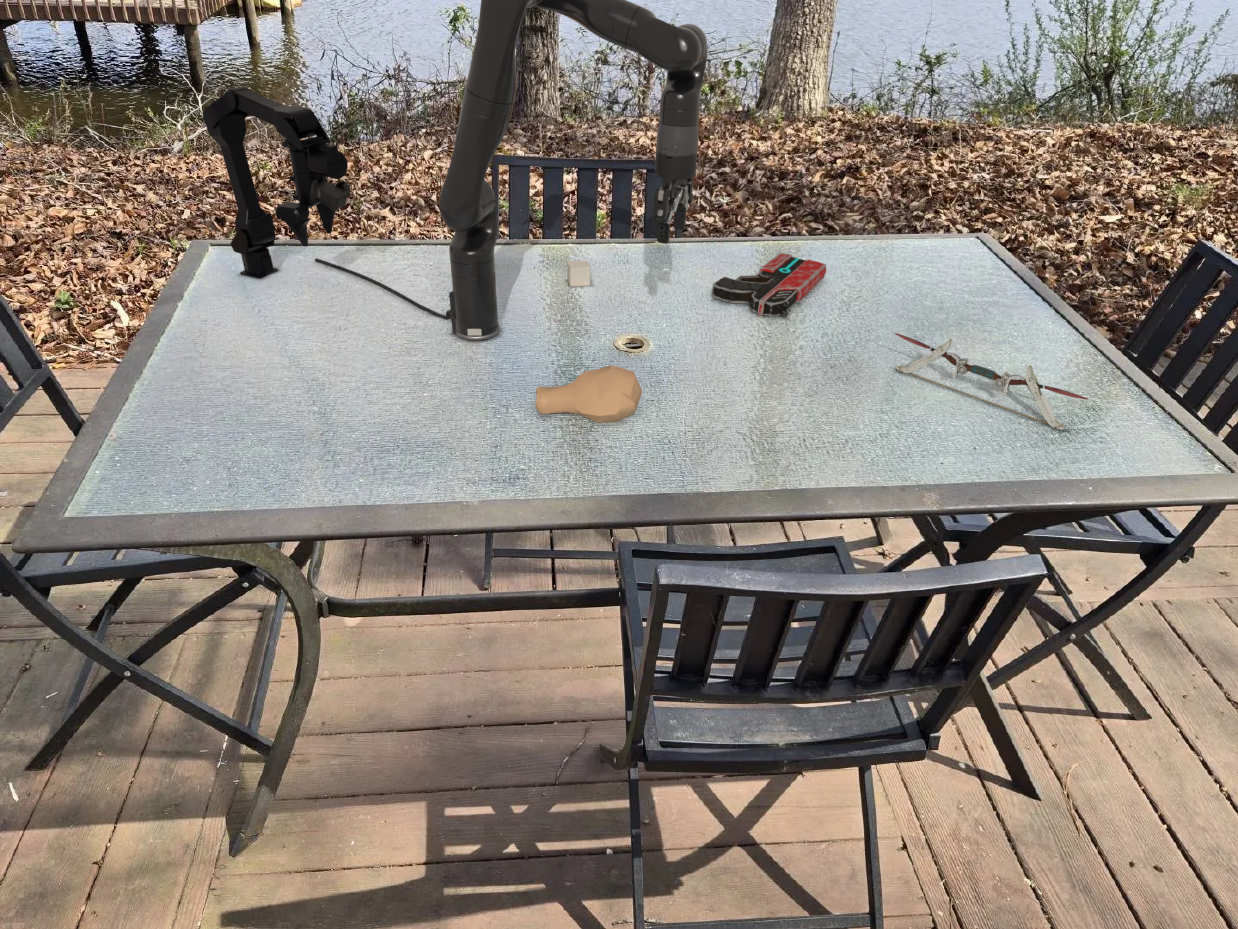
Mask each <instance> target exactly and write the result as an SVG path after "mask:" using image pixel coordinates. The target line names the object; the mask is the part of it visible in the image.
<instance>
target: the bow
mask: <svg viewBox="0 0 1238 929" xmlns="http://www.w3.org/2000/svg"><path fill="white" fill-rule="evenodd" d="M894 335H895V336H897V337H899V338H901V339H903V340H904V341H906V342H908V343H911V344H914V345H916V346H919V347H921V348H924V349H927V350H930V351H931V353H930V354H928V355H925V356H921V357H920V358H918V359H916V360H915V361H913V362H912V363H911V364H910V365H898V366H896V370H897V371H898V372H900V373H902V374H909V375H912V376H915V377H918V378H921V379H923V380H926V381H928V382H931V383H934V384H936V385H940V386H942V387H945V388H948V389H950V390H953V391H956V392H959V393H962V394H964V395H967V396H970V397H972V398H976V399H977V400H980V401H984V402H986V403H989V404H992V405H995V406H998V407H1000V408H1003V409H1005V410H1009V411H1011V412H1014V413H1016V414H1019V415H1022V416H1025V417H1027V418H1030V419H1033V420H1036V421H1039V422H1041V423H1044V424H1046V425H1049V426H1050V427H1052V428H1053V429H1056V430H1061V431H1062V430H1065V428H1066V427H1067V425H1065V424H1064V423H1062V422H1061V421H1060V420H1058V419H1056V418H1055V414H1054V412H1053V409H1052V406H1051V405H1050V403H1049V402H1048V400H1047V398H1046V396H1045V395H1044V394H1043V393H1042V390H1041V389H1043V388H1044V389H1045V390H1047V391H1050V392H1053V393H1056V394H1058V395H1063V396H1065V397H1070V398H1074V399H1081V400H1089V399H1090V398H1088V397H1085V396H1083V395H1080V394H1077V393H1074V392H1071V391H1068V390H1065V389H1062V388H1057V387H1053V386H1049V385H1044V384H1040V383H1039V379H1038V378H1037V376H1036V374H1035V373H1034V369H1033V366H1032V365H1031V364H1030V365H1028V366H1027V367H1026V371H1025V375H1024V376H1022V375H1020V374H1011V373H1009V372H1008V371H1005V372H1004V373H1003V374H1001V375H1000V374H998V373H997V372H996V371H995V370H993V369H989V368H987V367H984V366H981V365H978V364H972V365H971V364H969V358H968V357H967V358H961V356H959V355H958V354H957V353H955V352H952V351H950V352H949V350H950V348H951V345H952V342H953V339H952V338H949V339H948V340H947V341H946V342H945V343H944V344H941V345H939V346H937V347H936V348H934V347H931V346H930V345H928V344H926V343H924V342H922V341H919V340H917V339H914V338H911V337H909V336H906V335H902V334H900V333H897V332H894ZM942 358H944V359H945V360H947V362H949V363H950V364H951V365H953V366H955V367H954V370H953V372H952V374H951V377H952V378H954V379H956V378H957V377H959V376H958V375H959V374H960V375H962V376H965V375H966V374H967V373H968V372H969V373H971V374H974V375H977V376H980V377H983V378H986V379H989V380H992V381H995V382H994V385H995V386H996V387H997V388H998V389H999V388H1000V389H1003V390H1002V394H1001V395H1002V396H1005V397H1007V396H1008V395H1009V394H1010V390H1011V389H1010V386H1026V388H1027V389H1028V391H1029V392H1030V394H1031V396H1032V397H1033V399H1034V401H1035V404H1036V406H1037V408H1038V410H1039V411H1040V414H1041V415H1042V417H1043V418H1044V420H1045V421H1043V420H1041V419H1038V418H1036V417H1033V416H1030V415H1027V414H1025V413H1022V412H1020V411H1017V410H1014V409H1012V408H1011V409H1010V408H1008V407H1005V406H1002V405H1000V404H997V403H994V402H992V401H989V400H986V399H983V398H981V397H978V396H975V395H972V394H971V393H967V392H964V391H961V390H958V389H956V388H953V387H950V386H948V385H945V384H942V383H940V382H937V381H934V380H931V379H929V378H925V377H922V376H920V375H918V374H915V373H913V372H915V371H919V370H921V369H922V368H924V367H925V366H927V365H929V364H930V363H933V362H935V361H937V360H940V359H942ZM1024 377H1025V378H1024Z"/></svg>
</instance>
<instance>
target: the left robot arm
mask: <svg viewBox="0 0 1238 929" xmlns="http://www.w3.org/2000/svg"><path fill="white" fill-rule="evenodd" d="M249 116H252V117H254V118H256V119H259V120H261V121H263V122H265V123H268V124H270V125H272V126H273V127H274V128H275V131H276V132H277V134H279V135H280V136H282V137H283V138H285V139H284V140H283V141H282V143H281V147H282V148H286V149H288V151H289V152H288V153H289V158H290V163H291V169H292V175H289V176H288V178H289V182H293V183H294V188H295V193H294V194H292V199H293V201H294V202H293V201H286V202H283V203H281V204H279V205H277V206H276V208H274V213H275V217H276V220H279V221H280V222H284V223H285V224H286V225H287V227H288V228H289V229H290V230H291V232H292V233H293V234H294V235H295V237H296V238H297V240H298V241H299V242H300V244H301V245H302V246H303V247H306V248H307V247H309V235H308V223H310V221H311V220H312V219H311V217H310V209H311V208H313V207H316V210H317V212H318V215H319V218H320V221H321V224H322V226H323V229H324V230H325V232H326V234H329V235H330V234H332V231H333V227H334V219H335V215H336V211H339V210H340V209H341V208H344V207H346V204H347V199H348V198H350V197H351V193H350V186H349V183H348V182H347V181H345V180H344V179H343V180H341V179H342V178H344V177H345V175H346V174H347V172H348V166H349V165H348V159H347V157H346V156H345V154H344V153H342V152H341V151H339V148H338V147H339V146H338V145H337V144H330V143H331V139H330V138H329V136H328V132H327V131H326V130H325V128H324V127H323V126H322V124H321V121H320V120H319V119H318V117H317V115H316V114H315V112H314V111H313V110H312V109H311V108H309V107H305V106H300V105H284V104H282V103H280V102H277V101H275V100H273V99H270V98H269V97H266V96H263V95H261V94H259V93H256V92H254V91H252V90H251V89H250V88H249V87H246V86H239V87H233V88H229V89H227V90H226V91H225V92H224V93H223V94H222V95H221V96H220V97H219V98H217V99H216V100H214V101H213V102H211V103H210V104H209V105H207V106H205V107H204V111H202V121H203V123H204V125H205V127H206V129H207V132H208V135H209V136H210V137H211V138H212V139H213V141H215V143H216V144H217V145H218V146H219V147H220V150H221V155H222V158H223V161H224V164H225V168H226V171H227V175H228V178H229V183H230V185H231V190H232V193H233V197H234V200H235V203H236V207H237V212H236V216H235V220H234V227H235V232H236V233H235V235H234V236H233V238H232V239H231V241H230V246H231V248H232V251H233V252H234V253H237V254H240V255H241V259H242V264H243V268H244V270H242V271H240V272H239V273H240V275H241V276H246V277H250V278H254V279H258V280H259V279H260V280H261V279H263V278H265V277H267V276H270V275H272V274H273V273H276V272H278V271H279V269H278V268H277V267H274V264H273V259H272V255H271V253H270V249H269V248H270V247H275V241H276V230H277V228H276V226H275V224H274V220H273V216H272V214H271V213H269V212H266V211H265V210H264V209H263V207H261V205H260V201H259V198H258V194H257V190H256V186H255V182H254V178H253V175H252V172H251V168H250V164H249V160H248V157H247V154H246V149H245V146H244V142H245V137H246V134H247V131H248V130H247V124H246V119H247V118H248V117H249ZM327 178H330V179H334V180H340V181H338V182H337V183H336V182H332V183H330V182H328V179H327ZM295 201H298V202H295Z"/></svg>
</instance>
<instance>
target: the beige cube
mask: <svg viewBox="0 0 1238 929" xmlns="http://www.w3.org/2000/svg"><path fill="white" fill-rule="evenodd" d="M566 263H567V282H568V284H569V287H586V286H588V287H589V286H591V265H590V264H589V261H588V260H571V261H569V260H568V261H567V262H566Z"/></svg>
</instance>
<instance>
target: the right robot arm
mask: <svg viewBox="0 0 1238 929" xmlns="http://www.w3.org/2000/svg"><path fill="white" fill-rule="evenodd" d="M529 8H537V9H542V10H546V11H549V12H553V13H557V14H559V15H562V16H565V17H567V18H569V19H571V20H572V21H574V22H576V23H577V24H579V25H580V26H581V27H583V28H584V29H586V30H587V31H588V32H590V33H591V34H593V35H595V36H597V37H598V38H600V39H602V40H604V41H606V42H608V43H611V44H613V45H615V46H618V47H620V48H623V49H624V50H628V51H630V52H632V53H635V54H638V55H639V56H641V57H642V58H644V59H645V60H647V61H648V62H650V63H652V64H653V65H655V66H657V67H659V68H660V69H663V70H664V71H666V82H665V84H664V87H663V89H662V91H661V94H660V100H659V116H658V127H657V132H656V144H655V148H656V149H655V163H654V164H655V165H654V173H655V175H657V176H658V177H660V178H661V179H662V184H661V187H660V188H655V190H654V197H653V210H652V222H653V223H657V229H656V230H657V233H656V242H657V243H660V244H665V245H667V244H668V243H669V242H670V233H671V221H672V218H673V222H672V224H673V225H672V227H673V229H674V230H678V231H684V230H685V229H686V220H687V211H688V210H689V205H691V204H692V202H693V186H694V177H695V176H696V173H697V164H698V151H699V138H700V137H699V136H700V134H699V122H700V120H699V119H700V108H701V91H702V87H703V82H704V78H705V72H706V66H707V60H708V53H709V52H708V48H709V47H708V39H707V36H706V34H705V32H704V31H703V30H702V29H701V27H699V26H698V25H696V24H693V23H684V24H681V25H678V26H677V25H674V24H671V23H668V22H667V21H664V20H662V19H660V18H658V17H657V16H656V14H655V13H654V12H653V11H652V10H649V9H648V8H646V7H644V6H642V5H639V4H636V3H634V2H632V1H629V0H480V7H479V17H478V26H477V33H476V37H475V41H474V45H473V49H472V53H471V54H472V55H471V60H470V65H469V70H468V74H467V78H466V81H465V87H464V91H463V97H462V102H461V106H460V107H461V108H460V114H459V120H458V124H457V129H456V134H455V140H454V145H453V150H452V156H451V159H450V163H449V167H448V168H447V173H446V175H445V179H444V181H443V185H442V187H441V191H440V194H439V199H438V210H439V214H440V217H441V219H442V221H443V223H444V224H445V225H446V226H447V227H448V228H449V229H450V230H452V231H454V234H453V236H452V238H451V241H450V243H449V246H448V251H449V263H450V264H449V265H450V275H451V276H450V277H451V286H452V290H451V291H450V292H448V297H449V310H447V311H445V315H443V314H440V313H438V312H437V311H434V310H432V309H430V308H428V307H426V306H424V305H422V304H420V303H418V302H416V301H415V300H413V299H411V298H410V297H408V296H406V295H404V294H402V293H401V292H398V291H397V290H395V289H393V288H391V287H389V286H387V285H385V284H384V283H381V282H379V281H377V280H375V279H373V278H370V277H369V276H366V275H364V274H362V273H359V272H357V271H354V270H351V269H349V268H346V267H344V266H341V265H338V264H335V263H331V262H329V261H326V260H323V259H320V258H314V262H316V263H318V264H322V265H325V266H327V267H330V268H334V269H335V270H339V271H342V272H345V273H347V274H350V275H352V276H355V277H357V278H360V279H361V280H362V279H363V280H364V281H367V282H369V283H371V284H374V285H376V286H378V287H380V288H382V289H384V290H385V291H387V292H390V293H392V294H393V295H395V296H397V297H398V298H400V299H402V300H404V301H406V302H408V303H409V304H411V305H412V306H414V307H416V308H418V309H420V310H422V311H424V312H426V313H428V314H430V315H432V316H434V317H438V318H440V319H443V320H450V322H451V332H452V334H453V335H456V336H457V337H458V338H460V339H462V340H464V341H470V342H479V341H481V342H482V341H486V340H487V341H488V340H491V339H493V338H494V337H495V338H496V337H497V335H499V333H500V325H499V312H498V311H499V310H498V296H497V295H498V294H497V293H498V292H497V276H496V275H497V274H496V261H495V259H496V258H495V247H496V244H497V240H498V209H497V198H496V196H495V195H496V194H495V192H494V189H493V187H492V186H491V184H490V183H489V182H488V181H487V180H486V179H485V178H486V175H487V172H488V168H489V166H490V164H491V161H492V159H493V157H494V155H495V154H496V153H497V150H498V148H499V146H500V144H501V142H502V140H503V138H504V136H505V134H506V133H507V129H508V127H509V123H510V120H511V117H512V113H513V108H514V105H515V100H516V94H517V86H518V85H517V83H518V79H517V67H516V66H517V65H516V46H517V40H518V36H519V32H520V30H521V25H522V22H523V19H524V16H525V13H526V10H527V9H529Z"/></svg>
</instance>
